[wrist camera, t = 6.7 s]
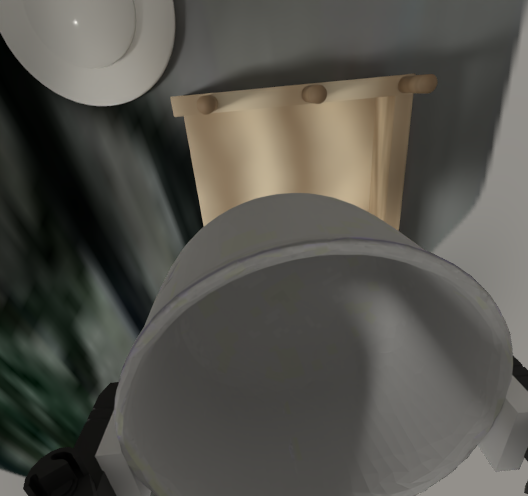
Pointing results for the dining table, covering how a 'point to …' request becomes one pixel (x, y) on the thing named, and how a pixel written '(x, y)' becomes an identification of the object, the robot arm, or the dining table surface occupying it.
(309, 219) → the teacup
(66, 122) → the dining table surface
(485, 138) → the dining table surface
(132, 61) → the saucer
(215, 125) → the rack
